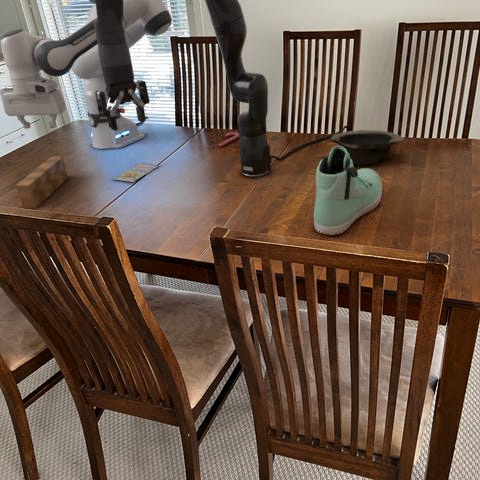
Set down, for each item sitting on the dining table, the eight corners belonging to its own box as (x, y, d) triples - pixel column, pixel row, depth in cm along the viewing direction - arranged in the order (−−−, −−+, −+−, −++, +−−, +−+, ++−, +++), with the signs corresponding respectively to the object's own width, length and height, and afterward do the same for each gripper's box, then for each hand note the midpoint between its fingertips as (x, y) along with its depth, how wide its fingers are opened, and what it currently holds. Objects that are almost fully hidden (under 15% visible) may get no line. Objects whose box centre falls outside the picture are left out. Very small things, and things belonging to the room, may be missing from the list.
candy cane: (208, 146, 191) (208, 142, 190) (230, 134, 201) (230, 130, 201) (220, 148, 188) (220, 144, 187) (242, 136, 198) (242, 132, 197)
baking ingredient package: (112, 178, 168) (138, 163, 180) (113, 179, 168) (138, 164, 180) (133, 181, 165) (157, 165, 176) (133, 182, 165) (158, 166, 176)
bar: (56, 177, 174) (50, 156, 170) (68, 177, 174) (62, 156, 169) (23, 208, 154) (15, 185, 150) (36, 208, 154) (28, 185, 150)
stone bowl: (361, 175, 156) (361, 148, 152) (316, 158, 177) (315, 133, 172) (418, 157, 165) (419, 130, 161) (369, 142, 185) (369, 118, 181)
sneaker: (389, 187, 148) (396, 123, 138) (356, 242, 123) (361, 168, 112) (346, 181, 154) (350, 119, 144) (306, 232, 129) (307, 161, 118)
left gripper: (-8, 89, 152) (7, 131, 159) (52, 86, 149) (64, 130, 156) (3, 84, 157) (17, 125, 165) (61, 81, 154) (72, 123, 161)
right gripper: (99, 69, 113) (113, 135, 121) (148, 58, 121) (158, 120, 130) (83, 66, 118) (97, 130, 126) (131, 55, 126) (142, 116, 134)
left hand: (40, 127), depth 160 cm, fingers open, 8 cm apart
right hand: (128, 125), depth 128 cm, fingers open, 8 cm apart
